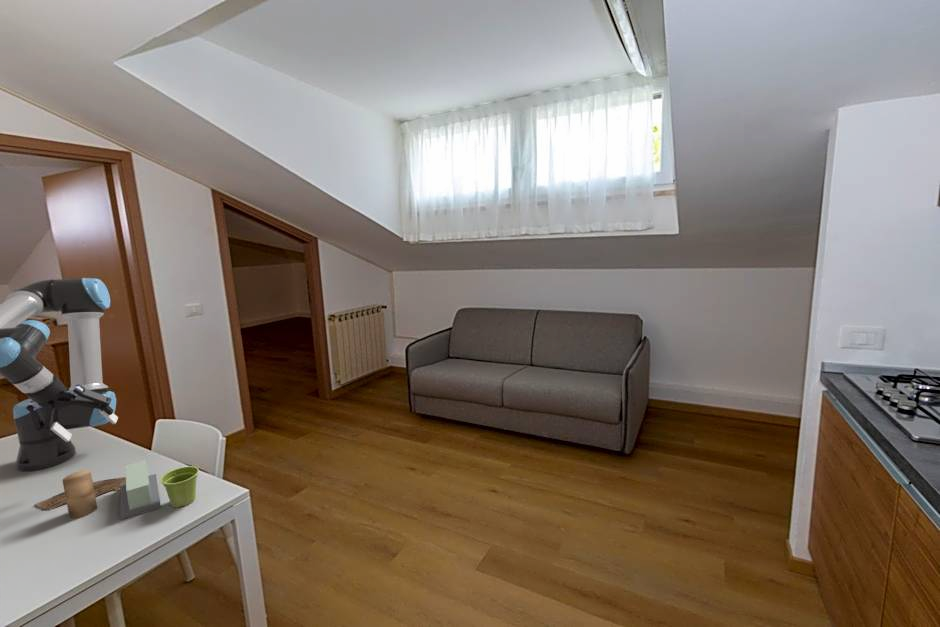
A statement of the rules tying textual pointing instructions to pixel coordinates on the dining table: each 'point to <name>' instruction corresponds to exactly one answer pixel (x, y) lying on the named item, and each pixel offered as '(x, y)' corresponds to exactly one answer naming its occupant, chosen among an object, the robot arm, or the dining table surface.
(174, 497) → the plant pot
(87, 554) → the dining table surface
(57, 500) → the wooden fragment
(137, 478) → the block
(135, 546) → the dining table surface
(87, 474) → the tan wooden cylinder
